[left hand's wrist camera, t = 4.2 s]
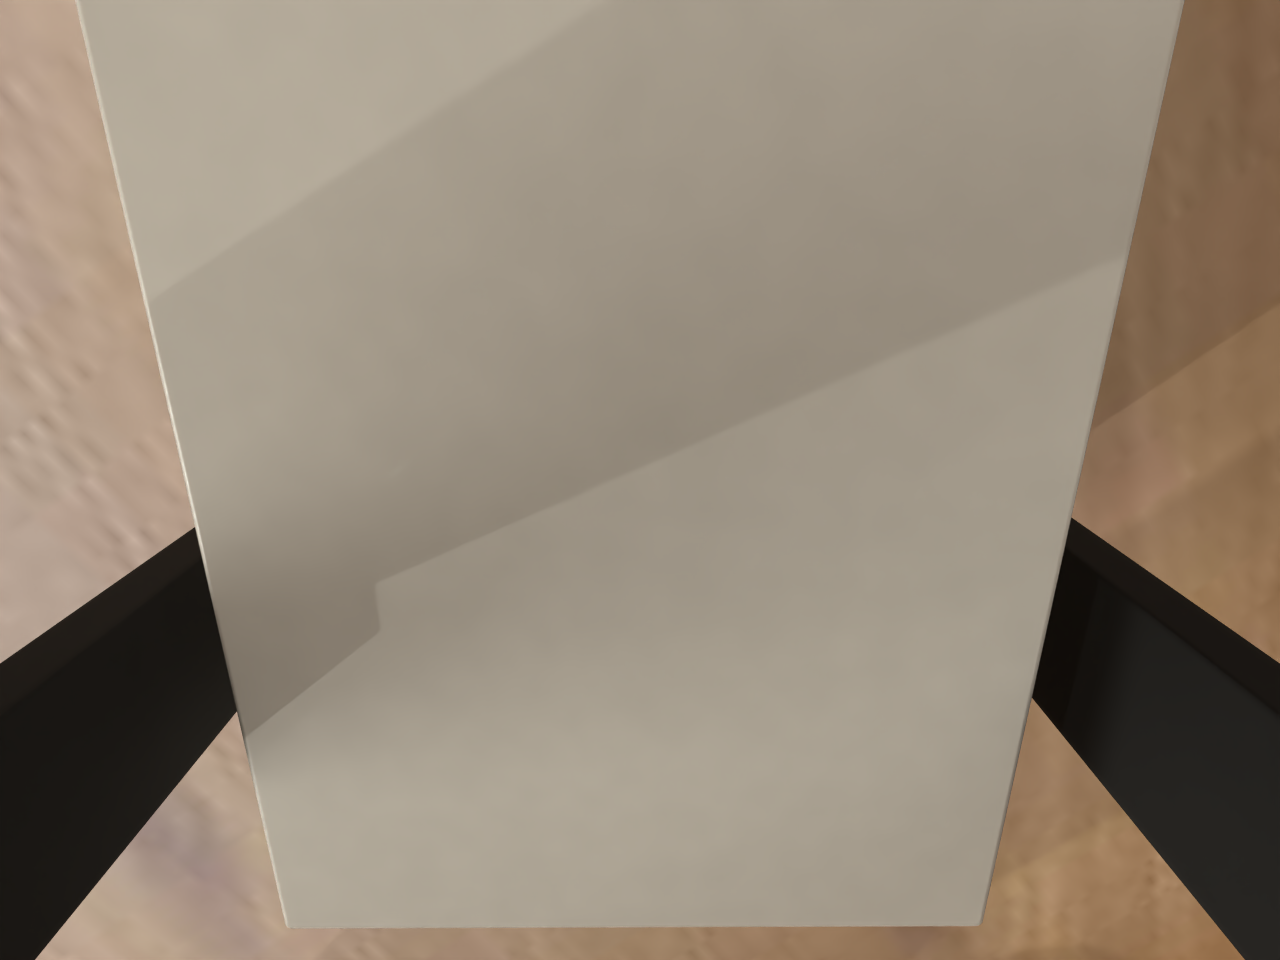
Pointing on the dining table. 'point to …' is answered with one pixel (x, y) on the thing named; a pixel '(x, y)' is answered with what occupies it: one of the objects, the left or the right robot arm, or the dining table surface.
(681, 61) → the cabinet
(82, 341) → the dining table surface
